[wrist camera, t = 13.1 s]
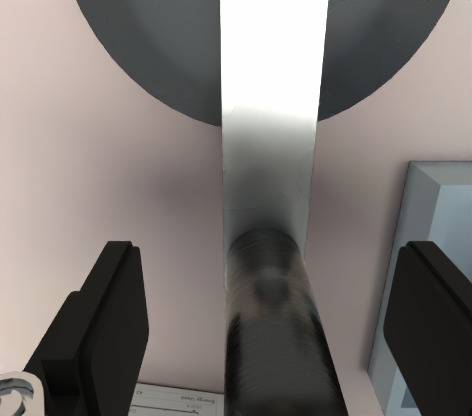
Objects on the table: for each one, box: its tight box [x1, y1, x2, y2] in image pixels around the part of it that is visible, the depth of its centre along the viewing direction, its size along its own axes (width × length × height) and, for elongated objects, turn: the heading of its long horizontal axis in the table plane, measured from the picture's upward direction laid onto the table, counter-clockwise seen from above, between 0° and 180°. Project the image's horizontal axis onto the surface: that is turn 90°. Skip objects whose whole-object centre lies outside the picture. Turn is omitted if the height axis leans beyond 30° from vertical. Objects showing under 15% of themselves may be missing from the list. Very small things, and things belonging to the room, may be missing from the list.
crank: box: [221, 0, 349, 416], centre depth 8 cm, size 12×4×7 cm, turn 0°
